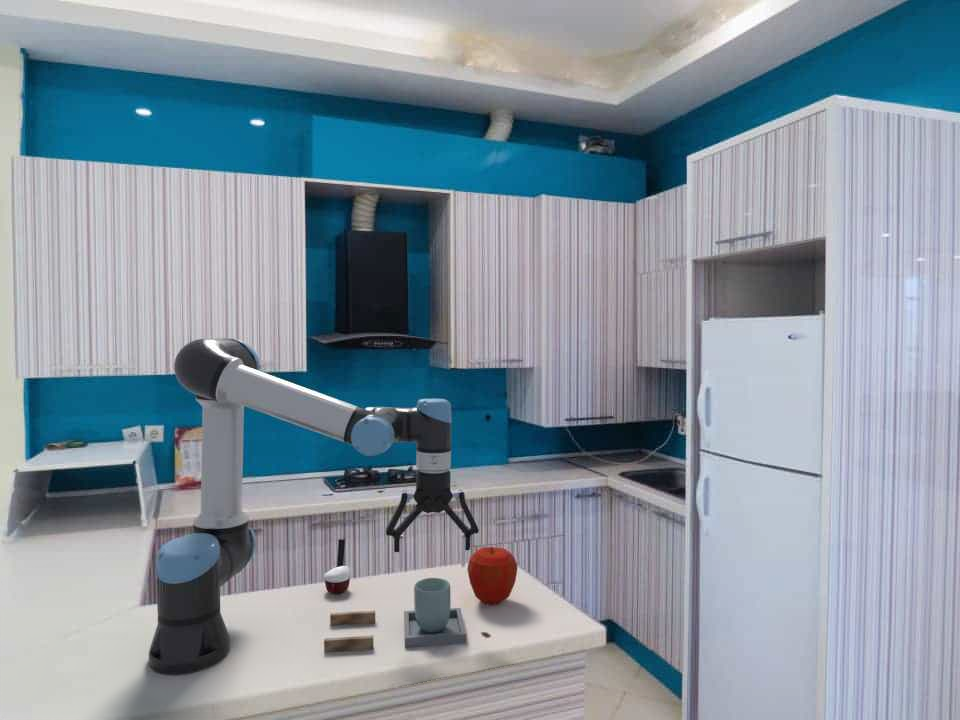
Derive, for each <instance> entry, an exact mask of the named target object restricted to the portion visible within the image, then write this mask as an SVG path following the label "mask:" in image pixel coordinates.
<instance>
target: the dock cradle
mask: <svg viewBox="0 0 960 720" xmlns="http://www.w3.org/2000/svg"><path fill="white" fill-rule="evenodd" d="M462 613H463V612H462V609H461V607H455V608H453V607H452V608H451V607H450V617H449V621H448V624H447V626H446V627H445V628H444V629H443V630H442V631H440V632H437V633H427V632H424V631H422V630H421V629H420V628H419V627H418V625H417V622H416V618H415V610H403V623H404V624H403V626H404V627H403V628H404V630H403V631H404V648H414V647H415V648H418V647H430V646H431V647H432V646H433V647H434V646H435V647H436V646H446V645H462V644H463V645H464V644H467V630H466V627H465V622H464V616H463V614H462Z"/></svg>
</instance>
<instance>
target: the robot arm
mask: <svg viewBox="0 0 960 720" xmlns="http://www.w3.org/2000/svg"><path fill="white" fill-rule="evenodd" d="M260 365H261V364H260V359H259V355H258V354H257V352H256V350H254V348H252V346H251V345H250V344H247V343H246V342H244V341H243V340H240V339H236V338H230V337H223V338H222V337H221V338H220V337H219V338H199V339H196V340H192V341H190V342H188V343H186V344H185V345H184V346H183V347H182V348H180V350H179V352H178V353H177V354H176V356H175V359H174V365H173V366H174V367H173V369H174V375H175V377H176V378H175V379H177V381H178V383H179V384H180V385H181V387H182V388H183V389H185V390H186V391H188V392H190V393H192V394H194V396H195V397H194V399H195V401H197V403H198V404H200V407H202V410H201V411H202V415H201V416H202V417H201V418H202V419H201V420H202V421H201V422H202V423H201V429H202V430H201V431H202V432H201V470H200V471H201V474H200V475H201V476H200V477H201V478H200V482H201V483H200V513H199V514H198V515H197V516H196V517H195V518H194V519H193V521H192V533H190V534H185V535H182V536H181V537H176V538H173V539H171V540H169V541H168V542H166V543H165V544H163V545H162V546H161V548H160V549H159V551H158V553H156V554H157V555H156V563H155V564H156V565H155V574H156V600H157V603H156V604H157V605H156V606H157V626H156V628H155V631H154V634H153V638H152V639H151V640H152V641H151V645H150V647H149V650H148V666H149V668H150V669H151V670H152V671H153V672H156V673H159V674H162V675H184V674H188V673H189V674H191V673H194V672H198V671H201V670H202V671H203V670H205V669H207V668H210V667H212V666H214V665H215V664H218V663H219V662H220V661H222V660H224V658H226V657H227V656H228V654H229V653H230V650H231V637H230V633H229V630H228V629H227V627H226V626H227V625H226V623H225V621H224V618H223V616H222V612H221V587H222V586H224V585H225V584H226V583H227V582H228V581H229V580H231V579H232V578H233V577H234V576H235V575H237V574H239V573H240V572H241V571H242V570H243V569H244V568H246V566H247V565H248V563H249V562H250V561H251V560H252V558H253V556H254V554H255V551H256V545H257V540H256V534H255V533H254V530H253V529H251V527H250V525H249V524H250V523H249V516H248V515H247V514H246V513H245V512H244V511H243V508H242V507H243V466H244V464H243V463H244V422H245V421H244V420H245V419H244V417H245V416H244V415H245V407H246V408H249V409H251V410H254V411H257V412H259V413H262V414H266V415H268V416H271V417H273V418H276V419H279V420H281V421H285V422H288V423H290V424H293V425H296V426H299V427H301V428H303V429H304V428H305V429H306V430H310V431H312V432H315V433H318V434H321V435H324V436H326V437H328V438H329V437H330V438H332V439H335V440H337V441H340V442H343V443H345V444H348V445H350V446H353V447H354V450H356V451H357V452H358V453H359V454H361V455H363V456H367V457H375V456H377V455H380V454H382V453H385V452H386V451H387V450H389V449H390V447H391V446H392V445H393V444H395V443H416V462H415V463H416V464H415V465H416V468H417V470H416V472H415V474H416V475H415V491H414V492H409V491H406V490H402V492H401V496H400V501H399V503H398V505H397V507H396V509H395V510H394V513H393V515H392V517H391V519H390V520H389V522H388V524H387V526H386V528H385V535H386V536H390V537H392V538H393V540H394V541H393V550H394V551H393V552H394V553H399V556H398V557H399V558H398V560H399V561H398V568H399V570H400V569H403V567H404V566H403V565H404V564H403V563H404V533H405V531H406V530H407V529H408V528H409V527H410V526H411V524H412V523H413V522H414V521H415V520H416V518H418V517H419V516H420V515H421V513H423V512H424V513H425V514H431V513H436V514H437V513H438V514H440V513H442V512H443V511H444V513H446V514H447V515H448V517H449V518H450V519H451V520H452V521H453V522H454V524H455V525H456V526H457V528H459V529H460V530H461V532H462V533H460V557H459V558H460V560H459V561H460V562H459V563H460V565H461V567H463V568H465V567H466V551H470V550H471V537H472V536H473V535H474V534H475V535H476V534H479V532H480V529H479V527H478V525H477V522H476V521H475V518H474V517H473V514H472V513H471V510H470V508H469V507H468V505H467V502H466V497H465V492H464V490H463V489H459V490H458V491H453V492H452V490H451V475H452V473H451V471H450V470H449V469H451V467H452V466H451V464H452V461H451V460H452V458H451V457H452V455H451V453H452V426H453V425H452V423H453V419H452V404H451V403H450V401H449V400H447V399H444V398H421V399H418V401H417V403H416V404H417V405H416V407H391V406H390V407H389V406H388V407H387V406H379V405H378V406H367V407H365V408H362V407H358V406H357V405H354V404H351V403H349V402H347V401H343V400H340V399H337V398H335V397H333V396H329V395H327V394H324V393H321V392H319V391H316V390H313V389H310V388H307V387H304V386H302V385H298V384H296V383H293V382H291V381H288V380H286V379H283V378H279V377H277V376H274V375H271V374H269V373H266V372H262V371H260V368H261V367H260ZM413 499H414V501H415V502H416V504H415V506H414V507H413V509H412V510H411V511H410V513H408V514H407V516H406V517H405V518H404V520H403V521H402V522H401V523H400V524H399V525H398V526H397V524H398V522H399V519H401V516H402V515H403V512H404V510H405V508H406V506H407V504H408V503H410V502H411V500H413ZM452 499H454V500H455V501H456V502H459V504H460V507H461V509H462V512H463V513H464V515H465V518H466V519H467V521H468V524H469V527H468V526H467V525H466V523H465V522H464V521H463V520H462V519H461V518H460V516H459V515H458V514H457V513H456V512H455V511H454V510H453V509H452V507H451V506H450V505H449V504H450V502H451V501H452ZM396 526H397V527H396ZM395 527H396V528H395Z"/></svg>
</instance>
